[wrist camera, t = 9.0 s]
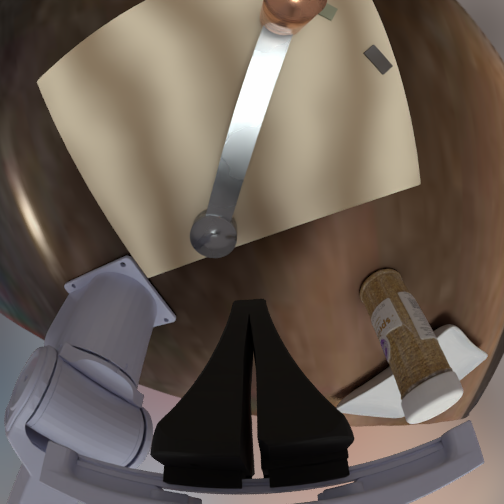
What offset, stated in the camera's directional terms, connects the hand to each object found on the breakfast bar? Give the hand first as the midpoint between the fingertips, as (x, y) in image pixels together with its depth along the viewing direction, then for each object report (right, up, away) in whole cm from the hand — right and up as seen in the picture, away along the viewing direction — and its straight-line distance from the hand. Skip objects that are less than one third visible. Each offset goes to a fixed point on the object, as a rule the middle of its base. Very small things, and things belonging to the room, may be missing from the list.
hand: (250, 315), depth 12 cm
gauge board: (-1, +12, +3) cm, 12 cm away
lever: (0, +10, +3) cm, 10 cm away
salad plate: (+26, -16, +23) cm, 38 cm away
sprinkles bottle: (+12, 0, +12) cm, 17 cm away
